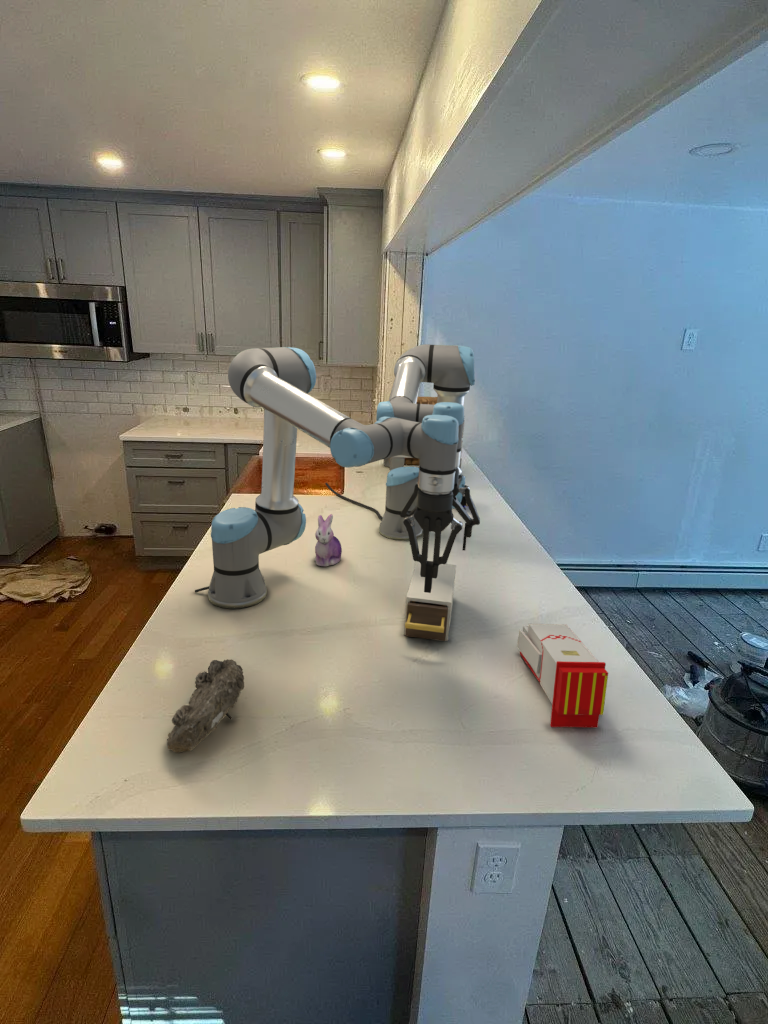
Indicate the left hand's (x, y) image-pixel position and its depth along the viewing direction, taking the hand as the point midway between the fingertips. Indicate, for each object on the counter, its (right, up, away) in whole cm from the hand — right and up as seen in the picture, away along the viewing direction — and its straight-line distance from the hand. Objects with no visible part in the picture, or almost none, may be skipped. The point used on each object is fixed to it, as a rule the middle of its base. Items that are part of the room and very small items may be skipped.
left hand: (427, 589), depth 127 cm
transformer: (+7, +36, +148) cm, 152 cm away
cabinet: (+2, -10, +20) cm, 22 cm away
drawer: (+1, -10, +14) cm, 18 cm away
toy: (+26, -20, -5) cm, 33 cm away
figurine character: (+21, +20, +103) cm, 107 cm away
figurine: (-27, +2, +49) cm, 56 cm away
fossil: (-43, -22, -19) cm, 52 cm away
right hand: (+4, +9, +20) cm, 22 cm away
